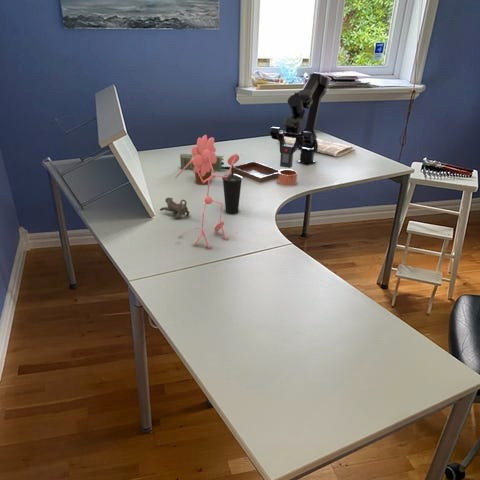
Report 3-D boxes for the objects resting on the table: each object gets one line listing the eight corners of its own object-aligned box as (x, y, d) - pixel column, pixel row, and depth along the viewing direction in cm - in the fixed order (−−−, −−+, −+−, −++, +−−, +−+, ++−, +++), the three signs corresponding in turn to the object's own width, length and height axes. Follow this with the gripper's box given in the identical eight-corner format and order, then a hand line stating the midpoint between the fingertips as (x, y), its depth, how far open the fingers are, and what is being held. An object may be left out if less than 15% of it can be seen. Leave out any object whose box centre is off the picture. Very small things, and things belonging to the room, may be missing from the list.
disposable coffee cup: (197, 187, 213) (196, 159, 206) (189, 180, 220) (188, 153, 213) (217, 183, 216) (217, 156, 209) (208, 177, 223) (208, 150, 216)
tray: (253, 166, 237) (253, 161, 236) (282, 177, 226) (282, 171, 224) (231, 172, 229) (231, 166, 228) (260, 183, 218) (260, 178, 216)
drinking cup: (221, 208, 194) (221, 157, 183) (240, 207, 195) (241, 157, 183) (222, 215, 188) (222, 164, 177) (242, 215, 189) (243, 163, 177)
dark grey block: (281, 164, 217) (283, 144, 212) (292, 166, 216) (293, 145, 210) (279, 166, 215) (281, 145, 210) (289, 168, 213) (291, 147, 208)
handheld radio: (181, 166, 234) (233, 169, 232) (180, 169, 232) (232, 172, 230) (181, 153, 230) (233, 155, 228) (179, 155, 227) (233, 158, 226)
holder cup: (286, 178, 224) (287, 168, 221) (299, 183, 219) (301, 172, 216) (274, 182, 219) (274, 171, 217) (287, 187, 215) (288, 176, 212)
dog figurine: (192, 217, 187) (191, 198, 182) (182, 221, 183) (181, 203, 179) (169, 209, 192) (168, 190, 188) (159, 213, 189) (157, 194, 184)
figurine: (242, 232, 177) (246, 131, 157) (194, 257, 160) (191, 149, 140) (210, 220, 184) (209, 123, 164) (161, 243, 168) (153, 138, 147)
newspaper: (277, 143, 270) (278, 138, 269) (297, 136, 283) (298, 131, 281) (335, 157, 252) (336, 152, 250) (354, 149, 264) (354, 144, 262)
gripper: (272, 107, 208) (261, 140, 206) (314, 112, 202) (303, 146, 200) (277, 122, 219) (267, 153, 217) (317, 127, 213) (307, 160, 211)
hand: (285, 153), depth 211 cm, fingers closed on dark grey block, 5 cm apart
